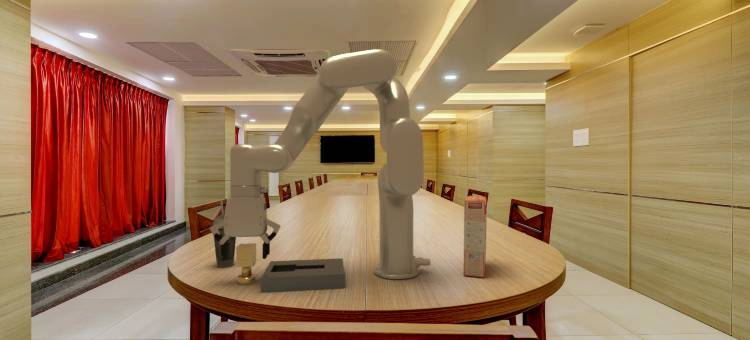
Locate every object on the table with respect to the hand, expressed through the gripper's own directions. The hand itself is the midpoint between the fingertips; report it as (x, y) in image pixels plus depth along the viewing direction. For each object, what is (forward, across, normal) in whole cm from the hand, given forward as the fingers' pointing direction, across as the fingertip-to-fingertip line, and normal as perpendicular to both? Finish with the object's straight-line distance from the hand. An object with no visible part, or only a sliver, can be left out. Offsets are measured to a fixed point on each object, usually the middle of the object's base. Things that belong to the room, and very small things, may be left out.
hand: (245, 258), depth 86 cm
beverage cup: (+6, +10, -16) cm, 20 cm away
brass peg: (+6, 0, 0) cm, 6 cm away
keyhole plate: (+6, -15, +1) cm, 16 cm away
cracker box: (+6, -63, -1) cm, 63 cm away
